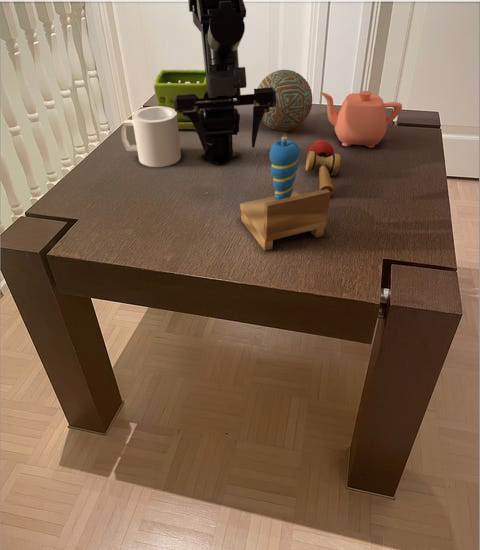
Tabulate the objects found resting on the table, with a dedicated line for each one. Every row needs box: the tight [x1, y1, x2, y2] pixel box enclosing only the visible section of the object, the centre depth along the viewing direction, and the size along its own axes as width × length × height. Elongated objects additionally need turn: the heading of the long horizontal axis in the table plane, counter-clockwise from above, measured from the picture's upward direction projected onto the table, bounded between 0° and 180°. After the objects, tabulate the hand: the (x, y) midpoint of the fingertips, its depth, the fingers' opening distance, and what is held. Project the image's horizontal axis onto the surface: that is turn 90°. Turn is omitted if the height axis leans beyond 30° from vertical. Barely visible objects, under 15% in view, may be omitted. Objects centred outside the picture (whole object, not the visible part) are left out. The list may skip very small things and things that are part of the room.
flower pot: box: [153, 69, 207, 130], centre depth 124 cm, size 14×14×13 cm
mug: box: [120, 105, 182, 168], centre depth 108 cm, size 14×10×11 cm
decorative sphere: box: [257, 69, 313, 132], centre depth 120 cm, size 15×15×15 cm
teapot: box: [320, 90, 403, 149], centre depth 114 cm, size 13×20×12 cm, turn 81°
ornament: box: [269, 133, 301, 200], centre depth 80 cm, size 5×5×15 cm
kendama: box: [305, 139, 341, 197], centre depth 101 cm, size 8×6×18 cm
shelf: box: [239, 189, 331, 252], centre depth 84 cm, size 12×12×10 cm
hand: (229, 149), depth 87 cm, fingers open, 9 cm apart
